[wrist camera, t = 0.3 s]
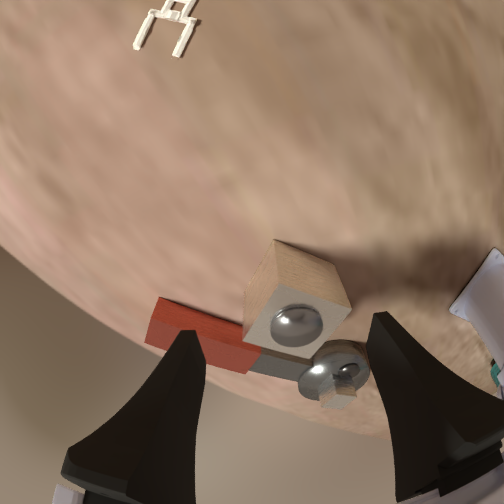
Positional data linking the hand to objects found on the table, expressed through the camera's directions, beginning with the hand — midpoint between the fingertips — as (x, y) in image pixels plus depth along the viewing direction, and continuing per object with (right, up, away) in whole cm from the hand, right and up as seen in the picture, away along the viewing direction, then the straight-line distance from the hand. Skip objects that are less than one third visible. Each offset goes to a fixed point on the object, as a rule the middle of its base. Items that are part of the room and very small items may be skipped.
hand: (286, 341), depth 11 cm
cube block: (+1, +2, +10) cm, 10 cm away
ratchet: (0, -5, +14) cm, 15 cm away
